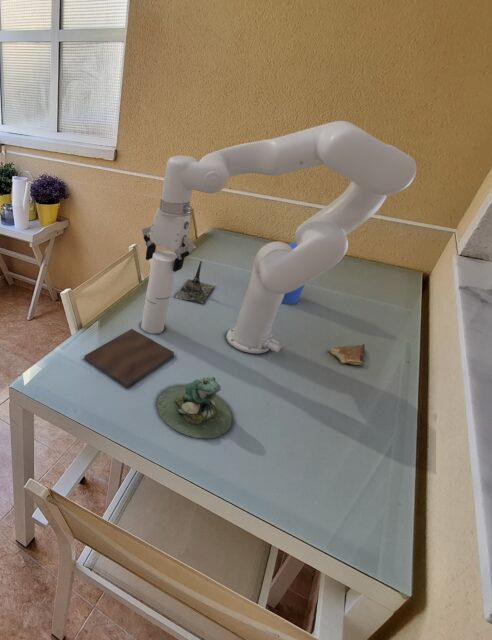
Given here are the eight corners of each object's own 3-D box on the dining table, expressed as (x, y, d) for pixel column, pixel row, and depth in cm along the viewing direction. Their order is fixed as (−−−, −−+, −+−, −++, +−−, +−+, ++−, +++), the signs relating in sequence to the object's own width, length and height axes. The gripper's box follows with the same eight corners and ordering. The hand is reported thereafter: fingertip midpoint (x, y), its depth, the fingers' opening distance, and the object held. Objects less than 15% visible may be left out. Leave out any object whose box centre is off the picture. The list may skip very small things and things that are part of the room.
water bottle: (291, 307, 144) (319, 238, 129) (265, 296, 150) (289, 230, 135) (303, 297, 149) (331, 231, 134) (277, 288, 155) (301, 223, 140)
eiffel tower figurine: (203, 305, 146) (212, 270, 138) (174, 297, 150) (181, 263, 142) (214, 287, 156) (223, 254, 148) (187, 280, 160) (194, 247, 152)
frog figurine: (188, 448, 95) (199, 413, 88) (143, 397, 109) (150, 363, 102) (247, 424, 101) (262, 389, 94) (197, 379, 114) (207, 345, 107)
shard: (362, 348, 125) (364, 343, 124) (381, 364, 119) (384, 359, 118) (328, 351, 124) (331, 346, 123) (346, 367, 118) (349, 362, 117)
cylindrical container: (164, 334, 131) (179, 262, 117) (141, 332, 132) (152, 260, 118) (163, 322, 137) (177, 251, 122) (141, 319, 138) (152, 249, 123)
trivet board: (173, 356, 123) (174, 352, 122) (126, 388, 112) (127, 384, 111) (131, 332, 132) (131, 328, 132) (84, 359, 121) (84, 355, 121)
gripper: (210, 211, 108) (195, 271, 118) (156, 195, 119) (147, 251, 129) (193, 218, 104) (180, 279, 114) (139, 201, 115) (131, 257, 125)
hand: (162, 264), depth 122 cm, fingers open, 9 cm apart
